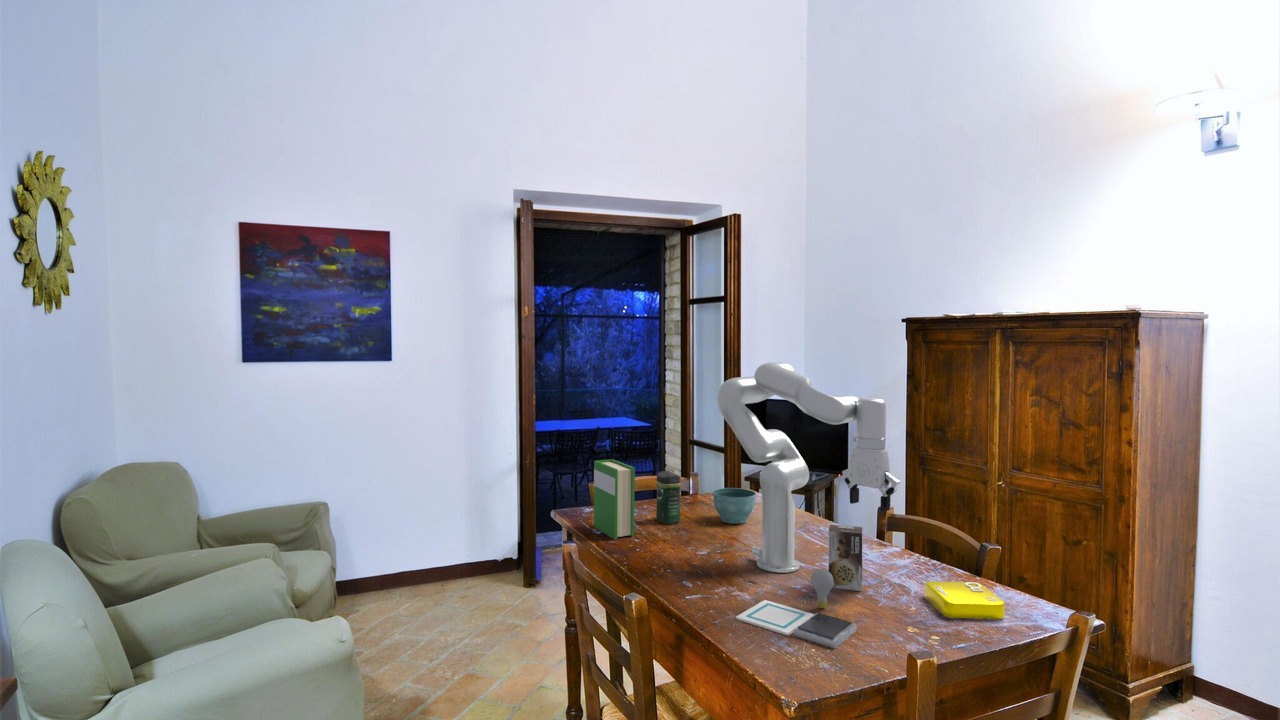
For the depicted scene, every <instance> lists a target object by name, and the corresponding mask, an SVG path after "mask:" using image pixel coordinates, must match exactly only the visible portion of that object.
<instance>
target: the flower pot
mask: <svg viewBox="0 0 1280 720" xmlns="http://www.w3.org/2000/svg"><path fill="white" fill-rule="evenodd" d="M712 496H713V503H714V508H715V510H716V513H717V514H718V515H719V517H720V521H721V522H722V523H723V522H724V523H727V524H733V525H734V524H736V525H737V524H741V523H742V524H745V523H746V522H747V521H748V518H749V517H750V515H751V514H752V512H753V510H754V508H755V503H756V498H757V492H756V491H753V490H750V489H746V488H741V487H740V488H739V487H737V488H736V487H723V488H717V489H714V490H713V491H712Z"/></svg>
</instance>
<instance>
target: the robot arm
mask: <svg viewBox="0 0 1280 720" xmlns="http://www.w3.org/2000/svg"><path fill="white" fill-rule="evenodd" d="M773 396H777V397H778V398H779V397H780V398H782V399H784V400H786V401H788V402H791V403H793V404H794V405H796V406H797V407H798V408H799V410H801V411H802V412H803V413H804V414H806V415H808V416H810V417H813V418H815V419H817V420H819V421H821V422H823V423H826V424H829V425H841V424H847V423H855V422H856V426H855V428H856V430H855V431H856V434H855V436H856V437H853V439H852V441H853V443H855V446H854V447H852V448H853V449H852V451H851V455H850V461H849V462H850V463H849V468H847V469H845V470H842V471H841V473H842V475H843V478H844V482H845V483H846V484H847V488H848V489H849V504H853V505H854V504H857V503H859V502H860V487H858V486H862V487H867V488H872V489H878V490H879V492H881V496H880V508H879V510H880V511H881V512H887V511H890V509H891V496H893V494H894V493H895V492H896V491H897V489H898V487H899V486H900V484H901V482H900V480H899V479H897V478H896V477H895V476H893V475H892V474H891V471H890V469H891V468H890V459H889V453H888V450H887V449H886V438H887V437H886V432H887V431H886V429H887V427H886V425H887V403H886V401H885V400H884V399H883V398H876V397H861V396H856V395H850V394H849V395H848V394H847V395H837V396H833V395H830V394H827V393H824V392H823V391H820V390H817V389H816V388H814V387H812V381H811V379H810V378H809V377H807V376H805V375H802V374H800V373H797V372H796V371H795V369H794V367H792V366H791V365H790V364H789V363H787V362H782V361H778V362H777V361H775V362H766V363H763V364H760V365H759V366H758V367H757V368H756V370H755V372H754V375H753V376H739V377H733V378H732V377H731V378H729V379H727V380H725V381H723V383H722V384H721V385H720V387H719V389H718V393H717V406H718V409H719V412H720V414H721V415H722V416H723V418H724V420H725V422H726V424H728V425H729V427H730V428H731V430H732V432H733V433H734V435H735V436H736V438H737V440H738V441H739V443H740V445H741V446H742V448H743V449H744V451H745V452H746V454H747V455H748V457H749V458H750V460H752V461H753V462H754V463H759V464H760V463H767V462H770V461H771V462H770V463H768V464H767V465H765V466H764V467H763V468H762V469H761V472H760V474H759V475H760V476H759V486H760V490H761V491H760V492H761V499H762V501H761V502H762V505H761V506H762V510H761V511H762V523H761V524H762V525H761V526H762V527H761V528H762V529H761V530H762V533H761V534H762V535H761V536H762V537H761V539H762V541H761V547H760V546H759V547H758V546H754V545H753V546H752V547H751V554H752V555H754V556H758V558H757V559H756V566H757V567H758V568H760V569H762V570H764V571H767V572H771V573H781V574H783V573H784V574H786V573H793V572H796V571H798V570H799V569H800V562H799V561H798V560H796V559H795V537H796V536H795V528H796V526H795V525H796V523H795V520H796V519H795V518H796V512H795V509H796V507H795V501H794V497H793V493H792V491H795V490H799V489H801V488H803V487H804V486H806V485H807V483H808V482H809V479H810V471H809V470H810V469H809V467H808V465H807V463H806V461H805V460H804V458H803V456H801V454H800V452H799V450H798V449H797V448H796V446H795V444H794V443H793V441H791V439H790V437H789V436H787V434H786V433H785V432H783V431H782V430H779V429H775V428H773V429H770V428H769V429H766V428H764V426H763V424H762V423H761V422H760V420H759V418H758V417H757V415H756V414H754V413H753V412H752V411H751V410H750V408H748V407H747V406H746V405H748V404H754V403H755V404H756V403H760V402H762V401H765V400H767V399H769V398H773ZM890 484H891V485H890ZM889 485H890V486H889Z"/></svg>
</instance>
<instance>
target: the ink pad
mask: <svg viewBox="0 0 1280 720" xmlns="http://www.w3.org/2000/svg"><path fill="white" fill-rule="evenodd" d="M857 625H858V624H857V623H854V622H853V621H848V620H845V619H841V618H839V617H834V616H832V615H831V616H830V615H827V614H824V613H821V612H816V613H815V615H813V616H812V617H810V618H809V619H807V620H806V621H804V622H803V623H802V624H800V625H799V626H797V627H796V628H794V632H793V636H794V637H797V638H800V639H804V640H807V641H809V642H813V643H816V644H819V645H822V646H825V647H828V648H832V649H836V648H838V647H839V646H840V645H842V644H843V643H844V642H845V641H846V640H847V639H849V638H850V637H851V636H853V635H854V634H855V633H856V632H857V631H858V629H857V628H858V626H857Z"/></svg>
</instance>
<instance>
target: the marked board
mask: <svg viewBox="0 0 1280 720" xmlns="http://www.w3.org/2000/svg"><path fill="white" fill-rule="evenodd" d="M815 614H816V613H815ZM815 614H814V613H812V612H807V611H805V610H802V609H798V608H794V607H790V606H788V605H784V604H780V603H777V602H773V601H769V600H766V599H764V600H762V601H760V602H758V603H757V604H755V605H754V606H752V607H750V608H749V609H747V610H745V611H744V612H742V613H740V614H738V615H736V616H735V620H737V621H741V622H744V623H746V624H750V625H753V626H757V627H758V628H759V627H760V628H763V629H765V630H769V631H772V632H775V633H779V634H782V635H785V636H789V635H791V634H792V633H793V634H794V628H796V627H797V626H799V625H800V624H802V623H803V622H804V621H806V620H807V619H809V618H810V617H812V616H813V615H815Z"/></svg>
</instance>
